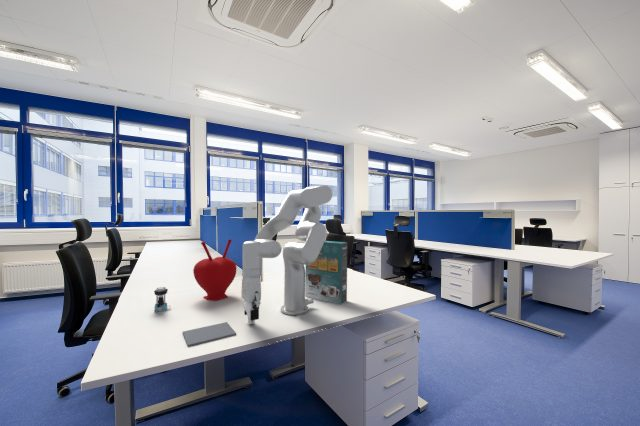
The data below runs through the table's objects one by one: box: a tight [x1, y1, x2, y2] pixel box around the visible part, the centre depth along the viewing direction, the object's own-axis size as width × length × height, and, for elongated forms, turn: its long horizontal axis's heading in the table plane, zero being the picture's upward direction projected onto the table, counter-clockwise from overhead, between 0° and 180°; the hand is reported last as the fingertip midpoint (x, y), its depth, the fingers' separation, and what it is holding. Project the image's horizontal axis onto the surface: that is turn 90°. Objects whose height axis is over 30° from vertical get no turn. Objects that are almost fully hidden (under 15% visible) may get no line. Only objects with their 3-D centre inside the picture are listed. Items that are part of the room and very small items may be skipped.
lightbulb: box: [242, 300, 256, 325], centre depth 107 cm, size 6×6×11 cm
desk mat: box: [182, 321, 237, 348], centre depth 98 cm, size 16×12×1 cm
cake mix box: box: [305, 240, 348, 305], centre depth 141 cm, size 22×6×30 cm, turn 58°
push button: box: [153, 286, 171, 312], centre depth 122 cm, size 7×5×10 cm
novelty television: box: [192, 238, 237, 302], centre depth 141 cm, size 21×13×30 cm, turn 144°
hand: (251, 316), depth 107 cm, fingers closed on lightbulb, 6 cm apart
